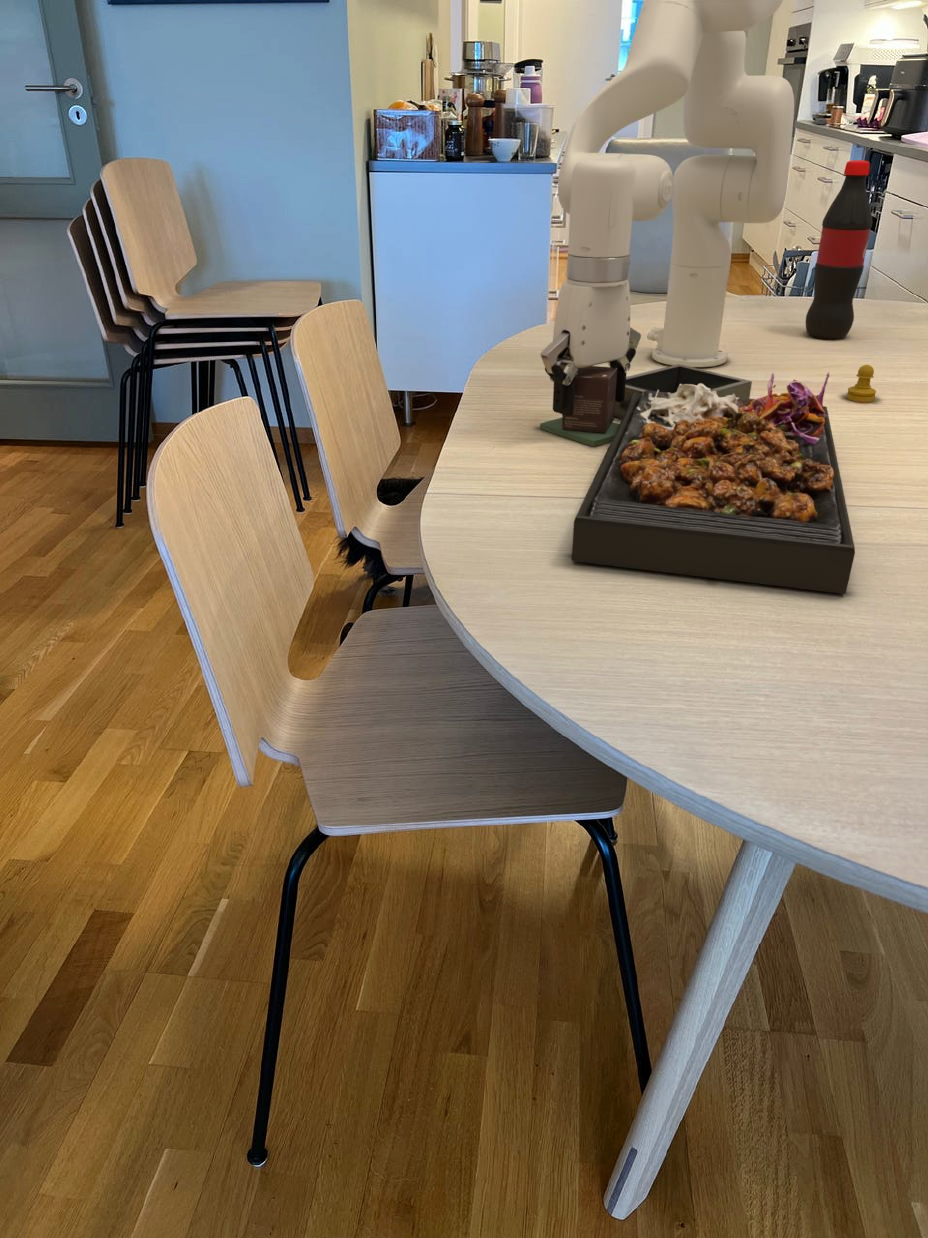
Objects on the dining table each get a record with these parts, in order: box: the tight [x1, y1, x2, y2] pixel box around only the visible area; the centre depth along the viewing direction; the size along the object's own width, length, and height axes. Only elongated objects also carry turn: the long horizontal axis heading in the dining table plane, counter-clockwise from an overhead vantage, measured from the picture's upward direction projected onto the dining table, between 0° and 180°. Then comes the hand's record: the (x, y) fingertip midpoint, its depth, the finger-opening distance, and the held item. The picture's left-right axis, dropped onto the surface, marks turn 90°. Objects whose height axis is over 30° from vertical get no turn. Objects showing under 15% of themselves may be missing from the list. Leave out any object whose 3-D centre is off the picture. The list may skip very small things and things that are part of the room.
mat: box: [539, 417, 620, 448], centre depth 123 cm, size 10×8×1 cm
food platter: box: [571, 371, 856, 595], centre depth 101 cm, size 45×25×10 cm, turn 164°
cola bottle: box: [805, 159, 873, 340], centre depth 168 cm, size 8×8×30 cm
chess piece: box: [846, 364, 877, 403], centre depth 136 cm, size 4×4×5 cm
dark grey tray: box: [614, 364, 753, 420], centre depth 130 cm, size 13×16×4 cm
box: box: [561, 365, 617, 433], centre depth 121 cm, size 6×6×7 cm
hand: (588, 406), depth 122 cm, fingers open, 9 cm apart
